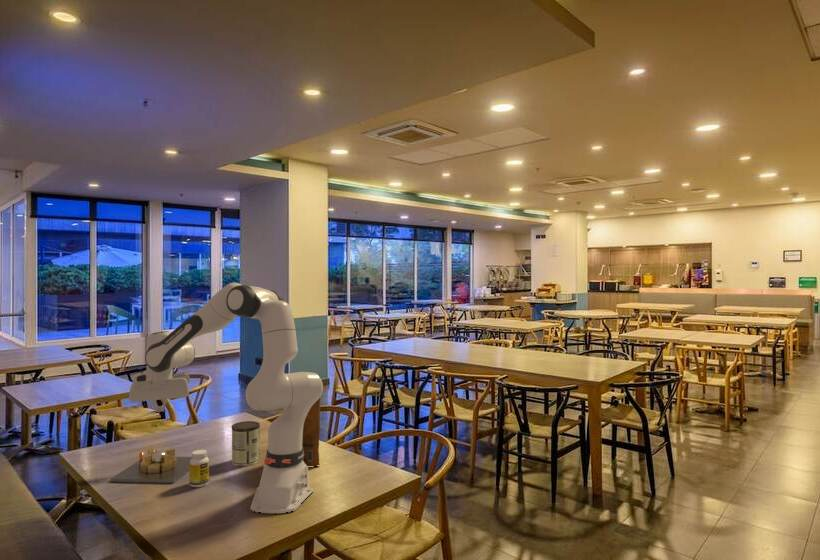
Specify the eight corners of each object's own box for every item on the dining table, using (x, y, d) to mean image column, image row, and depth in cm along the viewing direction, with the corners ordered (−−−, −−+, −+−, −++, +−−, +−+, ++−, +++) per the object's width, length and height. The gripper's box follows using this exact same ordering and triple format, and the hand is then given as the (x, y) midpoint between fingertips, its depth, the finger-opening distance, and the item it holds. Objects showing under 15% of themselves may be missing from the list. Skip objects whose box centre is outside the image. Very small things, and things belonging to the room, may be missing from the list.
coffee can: (238, 456, 200) (238, 420, 200) (263, 457, 199) (263, 421, 199) (226, 465, 190) (226, 428, 190) (253, 466, 189) (253, 429, 189)
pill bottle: (201, 488, 169) (202, 455, 169) (185, 487, 171) (185, 454, 170) (212, 481, 175) (212, 449, 175) (196, 479, 177) (196, 448, 177)
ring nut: (182, 465, 186) (182, 451, 186) (151, 475, 177) (151, 460, 177) (163, 458, 194) (163, 444, 194) (131, 467, 184) (131, 452, 184)
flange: (173, 483, 173) (173, 464, 173) (110, 482, 174) (110, 463, 174) (202, 460, 195) (202, 443, 195) (146, 459, 196) (146, 442, 196)
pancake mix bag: (314, 471, 185) (314, 394, 185) (277, 461, 195) (277, 388, 195) (326, 465, 191) (327, 391, 190) (290, 455, 201) (290, 385, 201)
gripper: (189, 371, 198) (189, 406, 198) (129, 375, 189) (129, 412, 189) (189, 373, 192) (189, 410, 192) (128, 378, 184) (128, 416, 183)
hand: (159, 411), depth 191 cm, fingers closed
